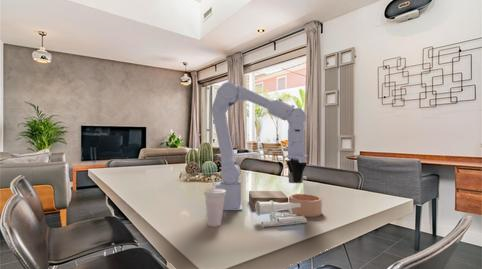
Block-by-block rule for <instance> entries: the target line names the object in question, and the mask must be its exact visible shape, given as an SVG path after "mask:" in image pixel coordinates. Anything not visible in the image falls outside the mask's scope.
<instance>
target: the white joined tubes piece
mask: <svg viewBox="0 0 482 269" xmlns="http://www.w3.org/2000/svg"><path fill="white" fill-rule="evenodd" d="M297 207H299V208H300V207H301V205H300V203H290V202H289V201H288V202H287V203H278V202H273V201H269V202H259V201H257V202H256V204H255V209H254V210H255V213H256V215H257V216H259V217H260V216H261V215H268V214H269V220H270V221H260V222H261V223H260V225H261V228H267V227H279V226H287V225H289V226H290V225H297V224H298V225H299V224H307V221H308V220H307V217H304V216H298V215H296V214H293V212H292V210H291V209H293V208H297ZM287 210H288V212H290V214H284V213H283V212H280V211H287ZM278 212H280V215H279V214H277V215H276V213H278Z"/></svg>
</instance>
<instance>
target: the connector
mask: <svg viewBox="0 0 482 269" xmlns="http://www.w3.org/2000/svg"><path fill="white" fill-rule="evenodd" d="M307 179H308V176H305V175H304V173H303V174H302V178H301V182H294V180H293V173H292V172H288V183H289V184H303V183H304V180H307Z"/></svg>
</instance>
